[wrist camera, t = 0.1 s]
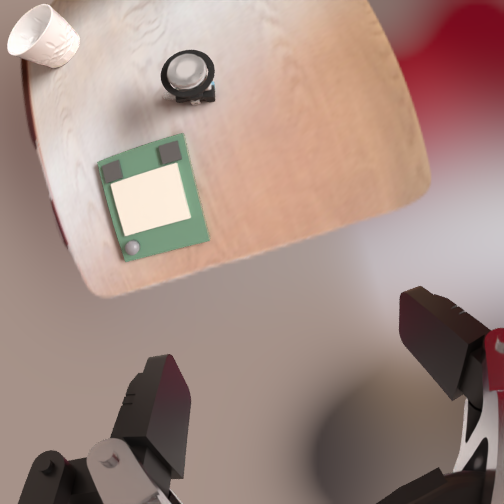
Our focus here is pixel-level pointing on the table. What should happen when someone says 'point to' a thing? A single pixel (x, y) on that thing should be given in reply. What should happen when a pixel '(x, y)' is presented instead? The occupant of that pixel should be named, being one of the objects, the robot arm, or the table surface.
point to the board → (154, 198)
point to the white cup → (43, 38)
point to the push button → (189, 77)
